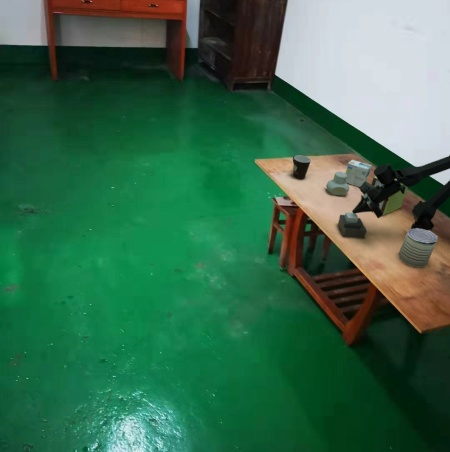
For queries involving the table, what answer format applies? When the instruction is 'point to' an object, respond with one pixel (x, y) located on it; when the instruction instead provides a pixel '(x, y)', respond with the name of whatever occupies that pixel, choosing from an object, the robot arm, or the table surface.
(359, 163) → the light bulb box
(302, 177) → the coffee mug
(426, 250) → the can
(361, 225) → the stepped grey pedestal
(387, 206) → the protein box
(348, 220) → the pad
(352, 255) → the table surface
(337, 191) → the air freshener
